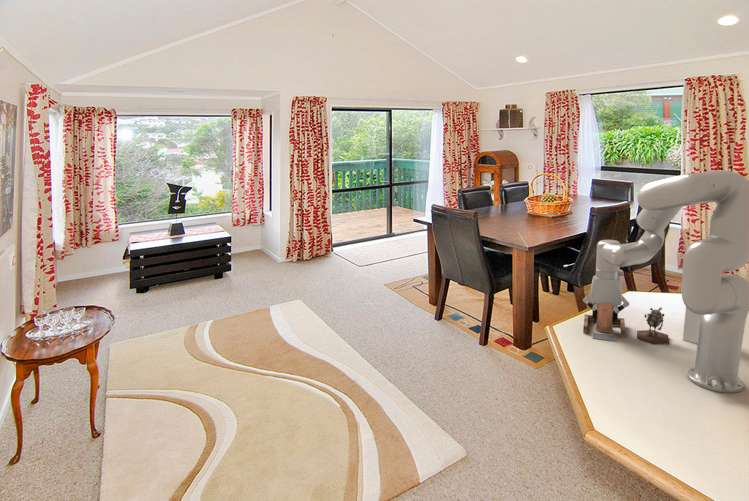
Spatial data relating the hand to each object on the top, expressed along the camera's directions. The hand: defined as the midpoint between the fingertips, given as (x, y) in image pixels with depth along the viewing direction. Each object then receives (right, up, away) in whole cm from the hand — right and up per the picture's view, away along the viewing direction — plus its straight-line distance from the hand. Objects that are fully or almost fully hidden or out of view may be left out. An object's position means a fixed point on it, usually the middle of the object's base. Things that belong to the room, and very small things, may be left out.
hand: (604, 320), depth 158 cm
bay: (0, -4, +1) cm, 4 cm away
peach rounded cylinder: (0, -4, 0) cm, 4 cm away
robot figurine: (+13, -5, -8) cm, 16 cm away
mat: (-3, -5, -5) cm, 8 cm away
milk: (+25, -5, -11) cm, 28 cm away
